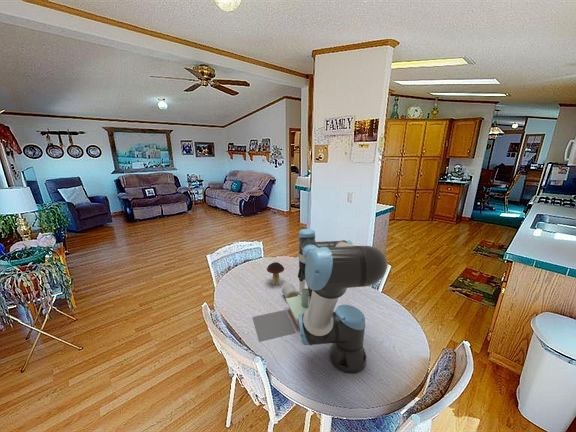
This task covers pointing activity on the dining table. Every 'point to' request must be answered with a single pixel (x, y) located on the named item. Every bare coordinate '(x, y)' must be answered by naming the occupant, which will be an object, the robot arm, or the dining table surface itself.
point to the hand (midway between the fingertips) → (306, 298)
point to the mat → (273, 325)
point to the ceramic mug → (290, 291)
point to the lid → (298, 304)
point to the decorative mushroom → (275, 271)
